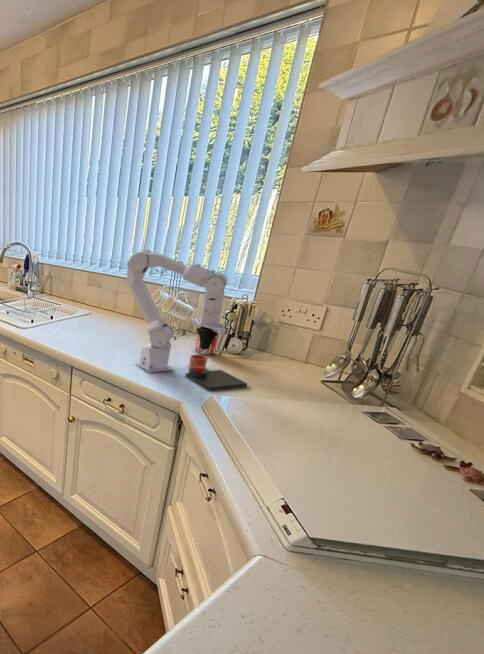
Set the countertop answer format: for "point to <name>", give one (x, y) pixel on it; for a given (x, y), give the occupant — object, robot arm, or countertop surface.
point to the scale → (215, 379)
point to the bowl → (197, 361)
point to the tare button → (198, 368)
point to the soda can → (206, 351)
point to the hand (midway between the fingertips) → (204, 348)
